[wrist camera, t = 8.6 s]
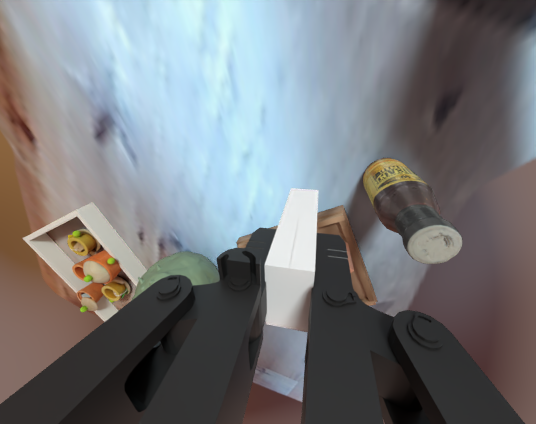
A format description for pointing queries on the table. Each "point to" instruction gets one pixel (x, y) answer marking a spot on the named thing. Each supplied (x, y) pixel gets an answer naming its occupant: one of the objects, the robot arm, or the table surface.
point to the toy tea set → (96, 271)
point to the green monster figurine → (179, 270)
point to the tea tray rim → (104, 236)
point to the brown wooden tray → (339, 225)
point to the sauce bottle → (410, 211)
